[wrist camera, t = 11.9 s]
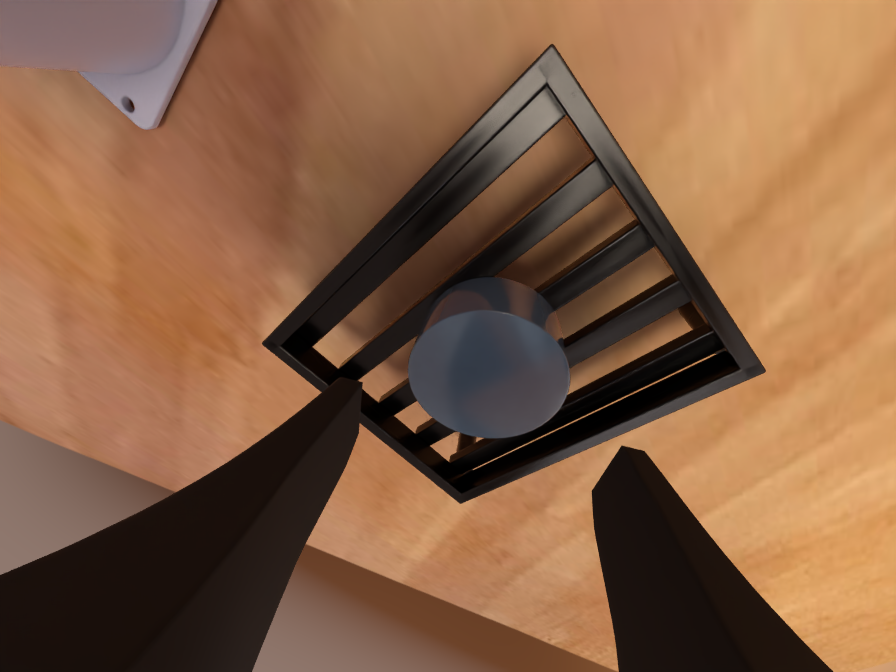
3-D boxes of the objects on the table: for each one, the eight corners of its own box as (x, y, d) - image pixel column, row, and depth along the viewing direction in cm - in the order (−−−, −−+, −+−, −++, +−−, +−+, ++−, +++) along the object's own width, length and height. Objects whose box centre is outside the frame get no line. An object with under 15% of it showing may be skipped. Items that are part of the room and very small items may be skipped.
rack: (310, 295, 19) (260, 344, 15) (540, 59, 13) (552, 41, 9) (469, 437, 23) (460, 504, 19) (709, 309, 16) (767, 372, 13)
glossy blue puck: (434, 260, 14) (419, 291, 11) (584, 296, 13) (597, 334, 11) (414, 376, 17) (398, 418, 14) (535, 406, 16) (539, 453, 14)
